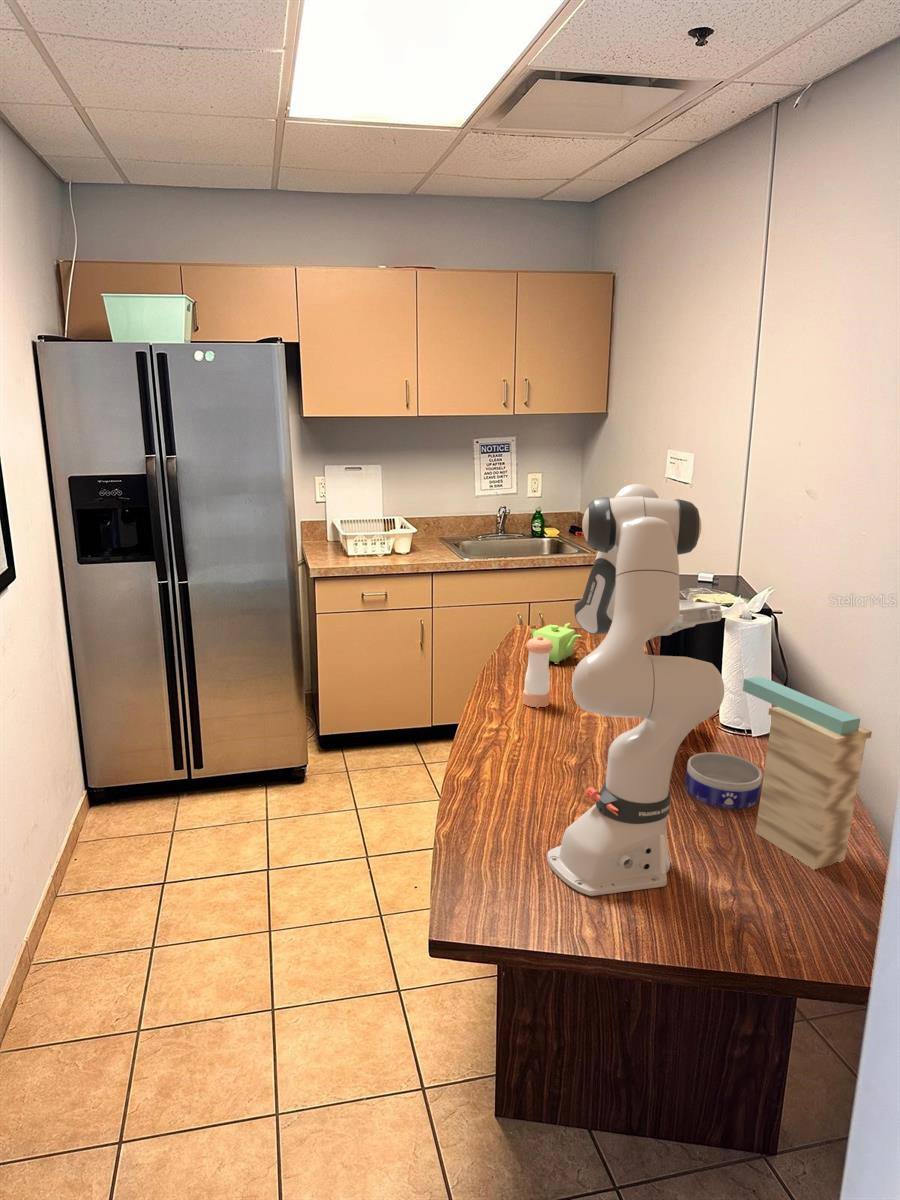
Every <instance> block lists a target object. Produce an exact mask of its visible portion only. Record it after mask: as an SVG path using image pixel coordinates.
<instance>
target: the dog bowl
mask: <svg viewBox="0 0 900 1200" xmlns="http://www.w3.org/2000/svg"><path fill="white" fill-rule="evenodd" d="M686 767H687V768H686V773H685V774H686V776H685V777H686V778H685V788H686V791H687V793H688V794H689V795H690V796H691V797H692V798H694V799H695V800H696V801H698V800H699V802H701V803H703V804H705V803H706V805H708V806H712V807H714V806H716V807H715V808H718V807H720V808H719V809H724V808H726V809H725V810H744V809H748V808H751V807H753V806H755V805H756V804H757V803H758V801H759V797H760V795H761V789H762V782H763V772H762V771H761V769H760V767H758V766H757V765H756V764H754V763H753V762H751V761H749V760H747V759H745V758H743V757H741V756H736V755H734V754H729V753H722V752H712V751H711V752H710V751H709V752H700V753H696V754H694V755H691V757H690V756H689V758H688V760H687V764H686Z"/></svg>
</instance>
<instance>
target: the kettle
mask: <svg viewBox="0 0 900 1200" xmlns="http://www.w3.org/2000/svg"><path fill="white" fill-rule="evenodd" d="M570 625H571V623H570V622H568V623H565V624H564V626H559V625H557V624H547V625H545V626H543V627H541V628H539V629H536V628H532V629H530V630H529V632H530V633H531V636H532V638H536V637H538V636H542V637H543V638H546V639H548V640H550V641H551V643H552V645H553V648H552V650H551V652H549V662H554V663H559V664H560V662H561V661H564V660H563V659H566V658H567V659H568V658H569V657H571V656H572V655H574V647H575V643H576V641H577V639H578V638H580V637H582V636H583V635H581V634H575V633H576V630H575V629H572V628H569V627H570Z"/></svg>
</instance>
